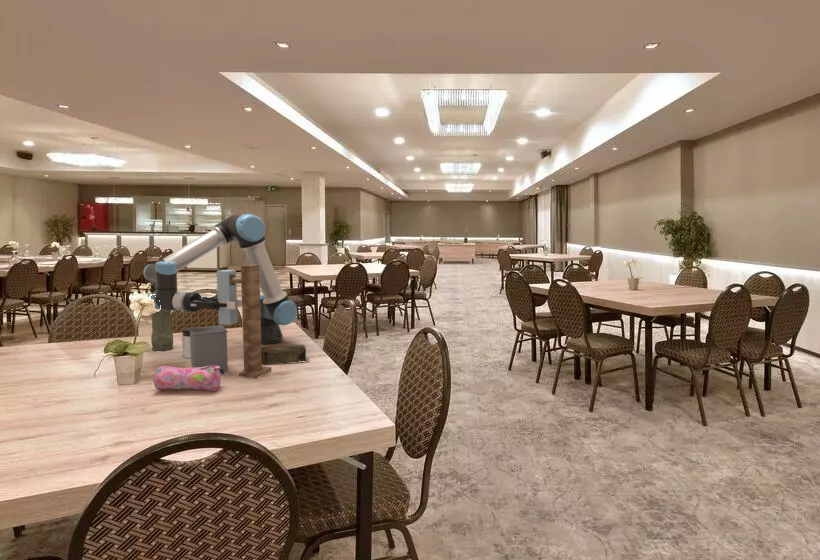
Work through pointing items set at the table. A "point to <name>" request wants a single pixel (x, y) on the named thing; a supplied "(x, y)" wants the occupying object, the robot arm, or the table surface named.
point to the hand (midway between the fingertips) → (239, 304)
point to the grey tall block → (227, 296)
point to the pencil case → (187, 378)
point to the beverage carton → (283, 354)
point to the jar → (186, 342)
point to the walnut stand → (251, 321)
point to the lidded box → (209, 347)
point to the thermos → (161, 327)
